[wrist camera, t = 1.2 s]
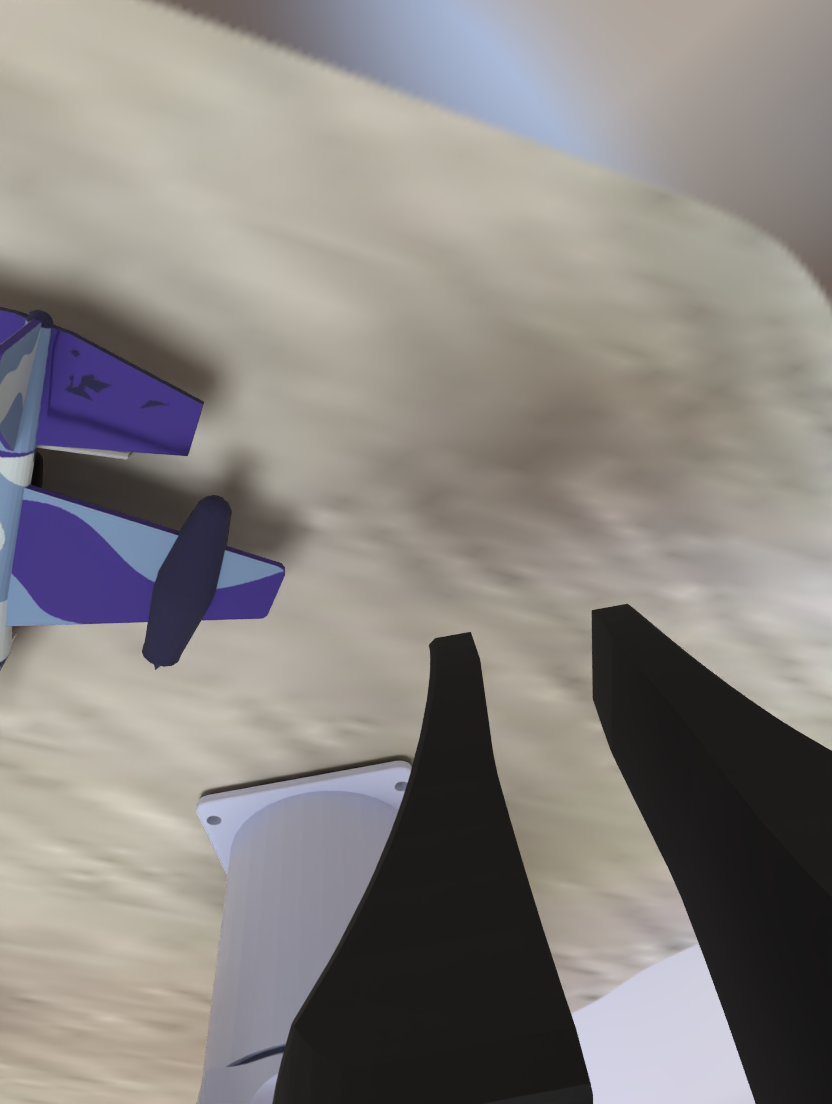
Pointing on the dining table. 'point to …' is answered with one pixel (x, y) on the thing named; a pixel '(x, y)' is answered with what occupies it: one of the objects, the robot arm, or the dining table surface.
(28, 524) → the toy airplane
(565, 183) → the dining table surface
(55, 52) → the dining table surface
